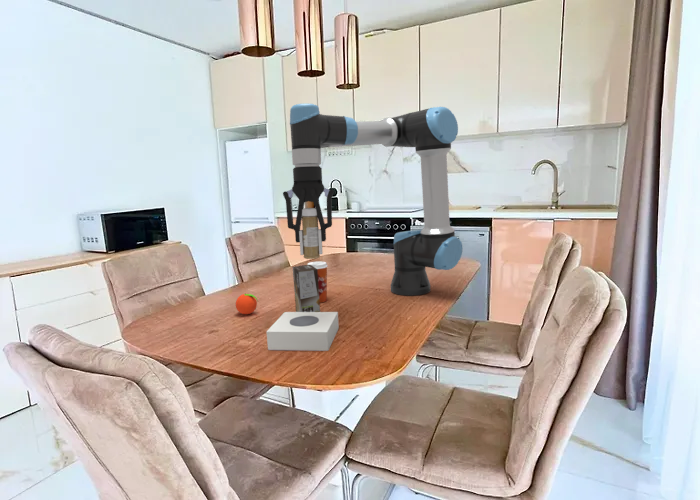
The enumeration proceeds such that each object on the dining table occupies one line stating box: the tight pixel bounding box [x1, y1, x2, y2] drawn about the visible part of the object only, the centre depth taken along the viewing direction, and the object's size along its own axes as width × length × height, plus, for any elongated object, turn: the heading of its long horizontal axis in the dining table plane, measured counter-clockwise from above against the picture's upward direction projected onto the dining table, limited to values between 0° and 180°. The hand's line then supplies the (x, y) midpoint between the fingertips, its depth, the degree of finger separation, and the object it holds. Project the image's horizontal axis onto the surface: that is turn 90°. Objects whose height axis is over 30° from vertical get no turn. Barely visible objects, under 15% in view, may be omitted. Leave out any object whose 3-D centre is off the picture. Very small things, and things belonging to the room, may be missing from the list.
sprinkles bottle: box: [301, 207, 321, 260], centre depth 110 cm, size 5×5×14 cm
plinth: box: [266, 311, 340, 352], centre depth 113 cm, size 16×16×5 cm
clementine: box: [235, 293, 259, 315], centre depth 137 cm, size 8×7×7 cm
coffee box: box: [292, 264, 321, 312], centre depth 131 cm, size 9×6×16 cm
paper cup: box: [306, 260, 329, 304], centre depth 148 cm, size 8×8×14 cm
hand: (311, 253), depth 111 cm, fingers closed on sprinkles bottle, 4 cm apart
